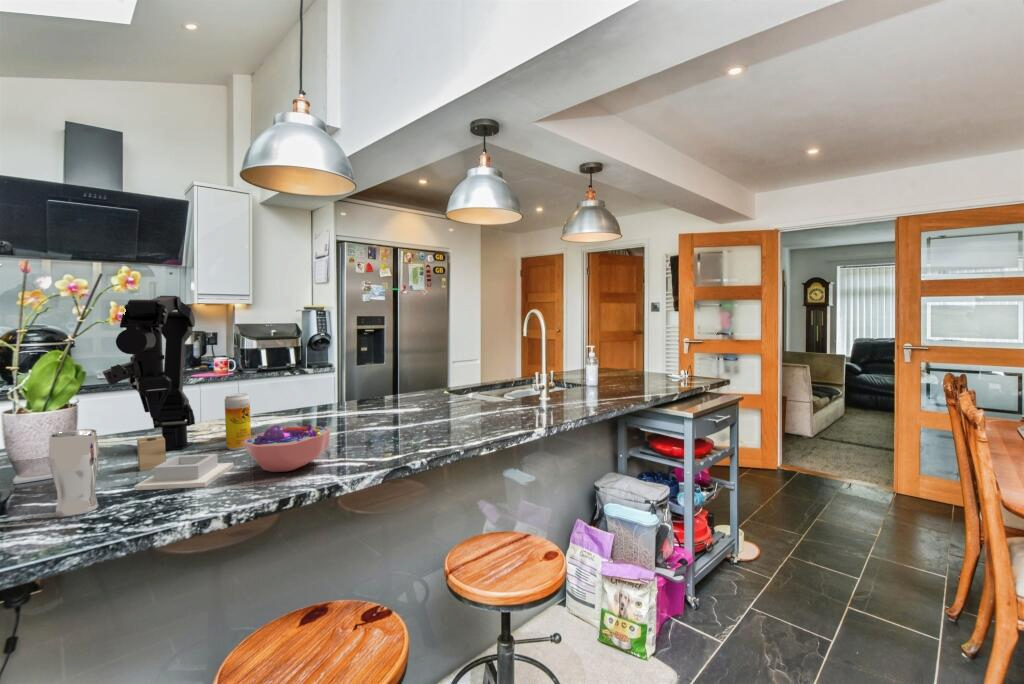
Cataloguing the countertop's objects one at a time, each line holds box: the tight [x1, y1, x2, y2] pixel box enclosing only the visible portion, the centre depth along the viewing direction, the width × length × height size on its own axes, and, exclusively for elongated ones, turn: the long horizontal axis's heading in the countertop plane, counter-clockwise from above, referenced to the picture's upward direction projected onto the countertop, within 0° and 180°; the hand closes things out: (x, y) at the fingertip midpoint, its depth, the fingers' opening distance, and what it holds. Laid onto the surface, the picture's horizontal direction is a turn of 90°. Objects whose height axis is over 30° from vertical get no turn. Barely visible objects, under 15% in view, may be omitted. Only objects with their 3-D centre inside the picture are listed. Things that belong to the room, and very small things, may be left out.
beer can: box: [224, 392, 252, 451], centre depth 134 cm, size 6×6×15 cm
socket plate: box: [133, 453, 235, 491], centre depth 109 cm, size 14×14×4 cm
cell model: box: [242, 424, 331, 473], centre depth 116 cm, size 17×20×11 cm
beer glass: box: [48, 428, 100, 518], centre depth 90 cm, size 7×7×15 cm
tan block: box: [136, 434, 167, 472], centre depth 117 cm, size 5×5×7 cm
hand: (150, 414), depth 116 cm, fingers open, 9 cm apart
